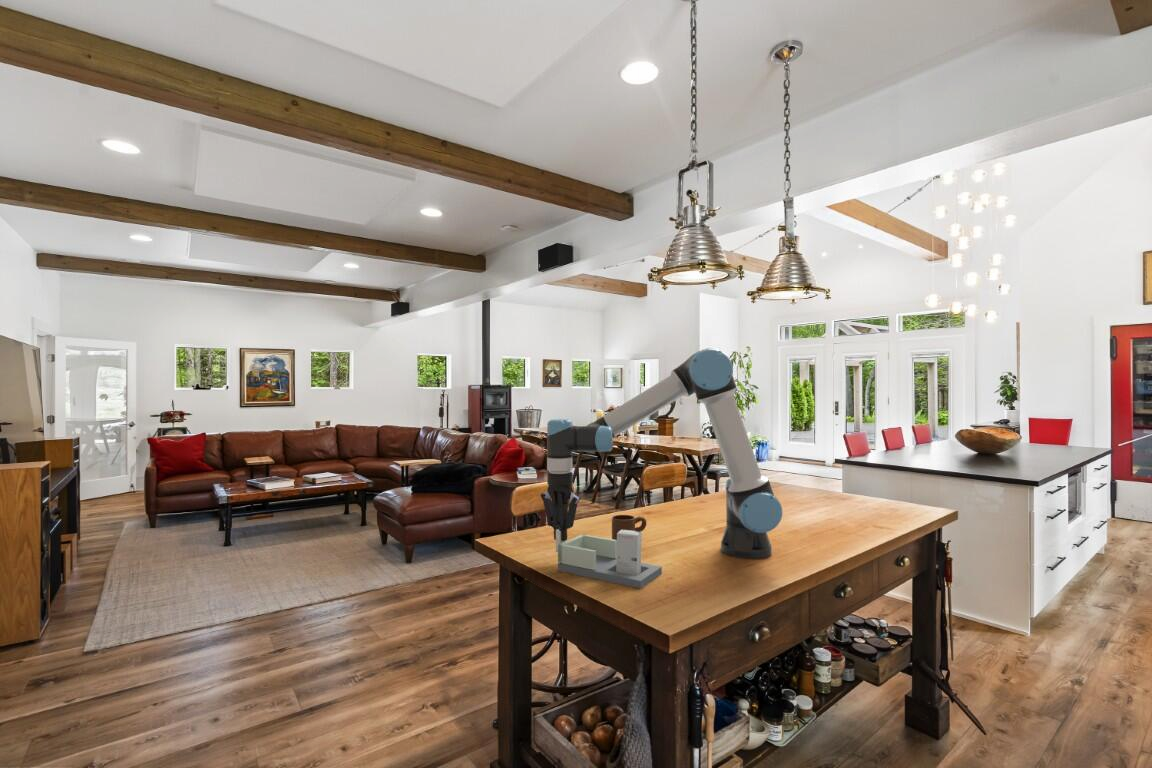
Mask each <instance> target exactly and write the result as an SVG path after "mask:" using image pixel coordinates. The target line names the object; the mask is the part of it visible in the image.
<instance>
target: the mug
mask: <svg viewBox="0 0 1152 768" xmlns="http://www.w3.org/2000/svg"><path fill="white" fill-rule="evenodd" d="M639 522H641V524H640V526H636V524H637V523H639ZM646 527H647V519H646V518H645V517H644V516H637V517H635V516H633V515H628V514H617V515H613V516H612V517H611V539H613V540H617V533H618V532H619V531H620V530H631V531H637V532H643V531H644V530H645V529H646Z"/></svg>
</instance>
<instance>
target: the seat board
mask: <svg viewBox="0 0 1152 768" xmlns="http://www.w3.org/2000/svg"><path fill="white" fill-rule="evenodd" d="M662 571H663V566H661V565H660V566H659V565H655V564H650V563H644V562H641V574H639V575H638V576H633V575H628V574H623V573H618V572H616V558H611V557H606V556H600V555H596V569H595V570H592V569H587V568H582V567H578V566H573V565H568V564H563V563H558V562H557V572H563V573H566V572H567V573H568V574H572V575H576V576H579V577H586V578H589V579H595V580H599V581H603V582H608V583H614V584H616V585H617V584H618V585H623V586H627V587H631V588H636V589H640V590H641V589H642V588H644V587H646V586H647V585H649V584H650V583H652V582H653V581H654V580H655V579H656V578H658V577H660V576H661V575H662V573H663V572H662ZM567 573H566V574H567Z"/></svg>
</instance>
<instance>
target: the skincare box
mask: <svg viewBox="0 0 1152 768" xmlns="http://www.w3.org/2000/svg"><path fill="white" fill-rule="evenodd" d="M642 532H643V531H641V532H637V531H631V530H620V531H619V532H618V533H617V558H616V572H618V573H623V574H628V575H633V576H638V575H639V574H641V563H642V537H643V536H642V534H643V533H642Z"/></svg>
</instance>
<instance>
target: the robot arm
mask: <svg viewBox="0 0 1152 768" xmlns="http://www.w3.org/2000/svg"><path fill="white" fill-rule="evenodd" d="M733 375H734V366H733V363H732V361H731V359H730V357H729V356H728V354H727V353H725V352H723V351H721V350H719V349H716V348H711V347H710V348H709V347H708V348H704V349H700V350H699V351H697V352H695V353H693V354H692V355H691V356H689V357H688V358H687V359H686V360H685V361H684V362H682V363H681V364H680V365H678V366H677V367H676V368H674V369H672V370H671V372H670V375H669V376H667V377H666V378H665V377H664V379H662V380H661V381H659V382H657V383H656V384H654V385H652V386H650V387H649V388H647V389H646V390H644V391H642V392H641V393H639V394H637V395H636V396H634V397H633V398H631V399H629V400H627V401H626V402H625V403H623V404H621V405H620V406H617V407H616V408H614V409H612V410H611V411H609V412H608V413H606V414H605V415H603V416H601V417H600V418H598V419H596V420H595V421H593V422H591V423H589V424H587V425H586V426H585V425H583V426H580V425H579V426H578V425H574V424H573V420H571V419H567V418H566V419H563V418H559V419H556V418H555V419H554V418H553V419H551V420H548V421H547V428H546V429H547V431H546V432H547V433H546V451H547V453H546V454H547V456H546V465H547V466H546V470H547V471H548V472H547V477H546V478H547V480H546V481H547V485H548V486H547V489H546V490H547V491H546V490H545V492H544V493H541V494H540V498H541V499H542V501H543V506H544V511H545V515H546V521H547V522H546V523H547V525H548V527H552V528H553V539H554V540H555V552H556V553H558V544H561V543H563V542H565V541H568V530H569V529H571V528H573V527H574V522H575V517H576V512H577V510H578V509H577V508H578V504H579V502H580V500H581V497H580V496H579V495H578V496H577V495H576V494H575V493H574V490H573V484H574V483H573V481H574V480H573V479H574V478H573V477H574V475H573V474H574V473H573V472H572V471H573V453H574V452H576V453H577V452H592V453H593V452H598V453H603V452H611V451H612V450H613V443H614V442H613V439H614V438H616V437H617V436H618V435H620V434H622V433H623V432H625V431H627V430H629V429H630V428H632V427H634V426H635V425H637V424H638V423H640V422H642V421H644V420H645V419H647V418H649V417H650V416H652V415H653V414H655V413H657V412H658V411H660V410H662V409H664V408H665V407H667V406H669V405H670V404H672V403H674V402H675V401H677V400H679V399H680V398H682V397H690V396H691V395H692V396H693V394H695V396H696V400H697V401H698V402H700V403H702V404H704V406H705V409H706V412H707V415H708V418H709V420H710V423H711V427H712V430H713V433H714V436H715V438H716V442H717V444H718V447H719V450H720V453H721V455H722V458H723V461H724V464H725V467H726V470H727V474H728V475H729V476H728V477H729V478H727V480H726V482H725V483H726V484H725V485H726V486H725V495H726V497H725V498H726V499H725V500H726V501H725V503H726V506H725V510H726V513H725V514H726V526H725V529H724V532H723V535H722V539H721V541H720V551H721V552H722V553H723V554H726V555H727V556H731V557H735V558H739V559H748V560H749V559H750V560H753V559H754V560H755V559H757V560H759V559H764V558H769V557H770V556H772V544H771V541H770V538H769V535H768V532H771V531H773V530H774V529H775V528H777V527H778V525H779V524H780V523H781V521H782V518H783V508H782V507H783V506H782V504H781V501H780V500H779V499H778V498H777V497H776V496H775V494H774V492H773V491H774V490H773V489H772V485H771V483H770V480H769V477H767V476H765V475H763V474H762V473H761V470H760V467H759V465H758V462H757V459H756V456H755V454H754V450H753V448H752V445H751V441H750V438H749V436H748V432H747V430H746V428H745V424H744V421H743V418H742V416H741V413H740V410H739V407H738V403H737V400H736V399H735V393H736V391H737V389H738V388H737V385H736V382H735V378H734V376H733ZM569 501H570V502H569Z"/></svg>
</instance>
